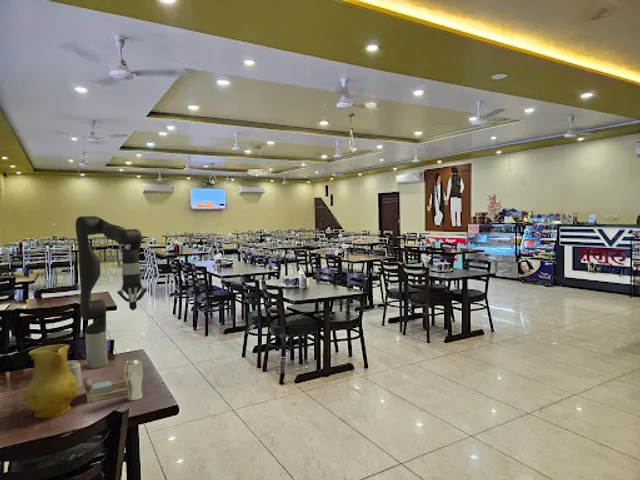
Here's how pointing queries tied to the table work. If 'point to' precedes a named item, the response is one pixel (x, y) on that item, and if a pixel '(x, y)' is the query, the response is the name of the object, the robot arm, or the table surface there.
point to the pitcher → (51, 382)
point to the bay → (106, 395)
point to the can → (75, 370)
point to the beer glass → (133, 379)
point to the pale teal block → (101, 388)
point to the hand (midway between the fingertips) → (133, 309)
